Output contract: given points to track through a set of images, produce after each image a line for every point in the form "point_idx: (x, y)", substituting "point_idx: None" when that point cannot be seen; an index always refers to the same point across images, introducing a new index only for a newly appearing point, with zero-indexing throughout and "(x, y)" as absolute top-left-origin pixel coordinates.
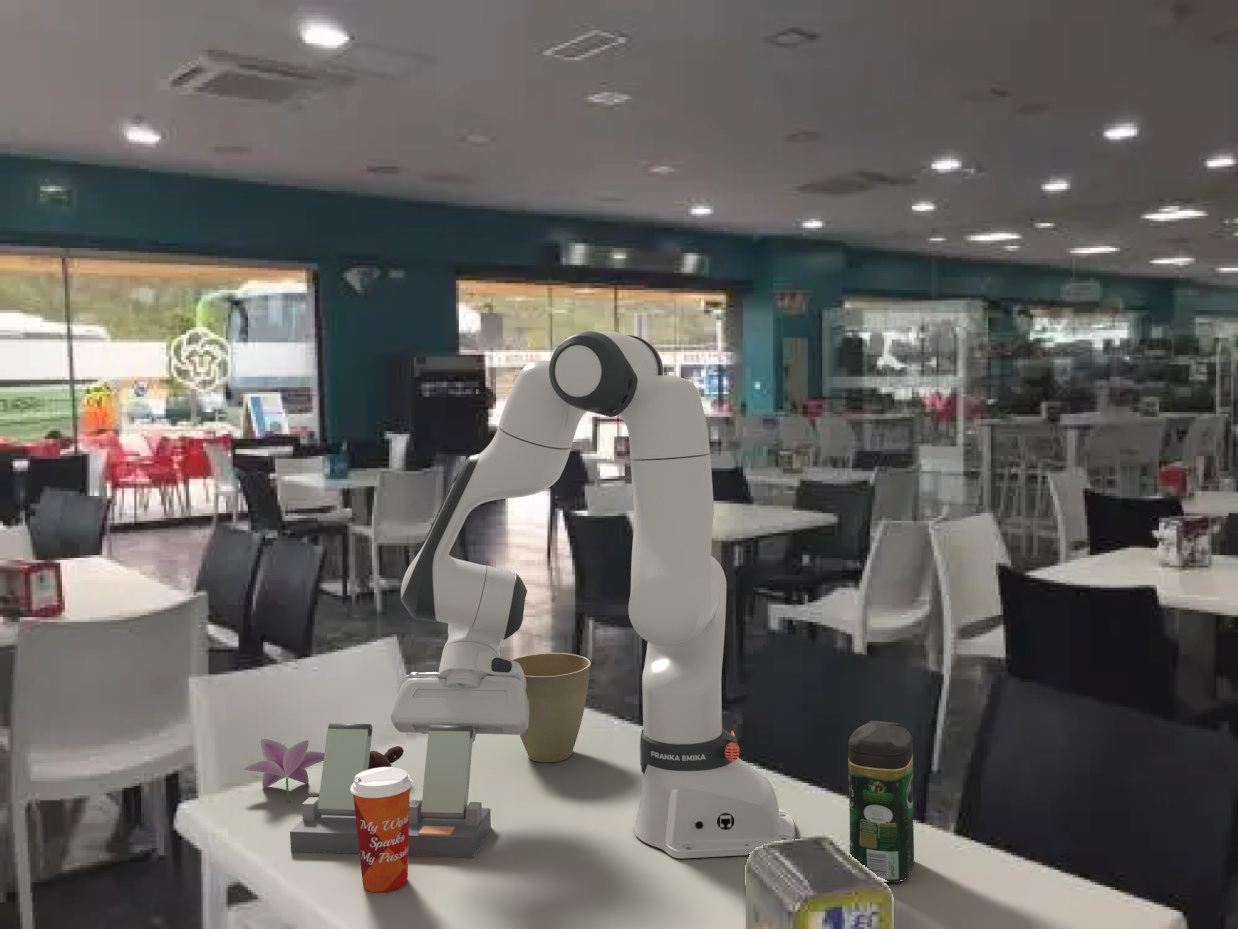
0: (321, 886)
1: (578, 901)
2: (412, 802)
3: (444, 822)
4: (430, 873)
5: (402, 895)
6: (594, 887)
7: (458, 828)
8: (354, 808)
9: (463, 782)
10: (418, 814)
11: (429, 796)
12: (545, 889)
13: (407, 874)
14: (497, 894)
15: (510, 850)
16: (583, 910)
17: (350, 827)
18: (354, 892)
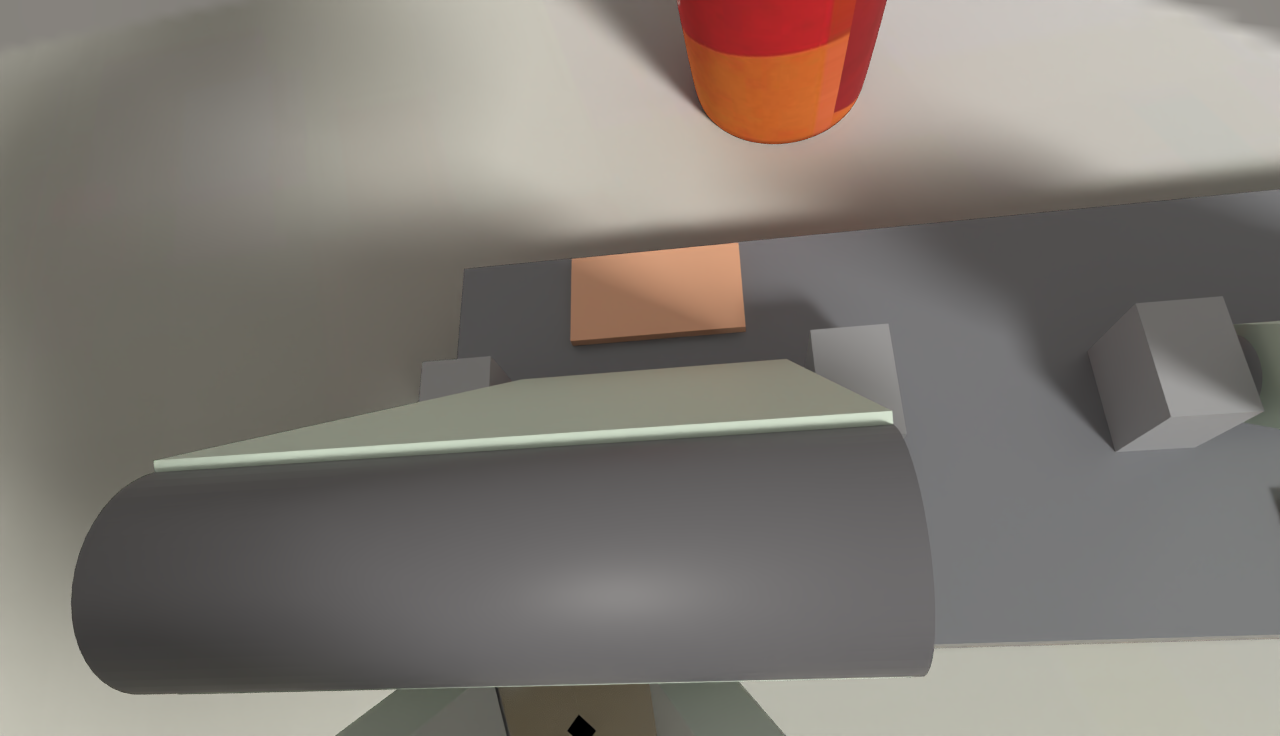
0: (1016, 12)
1: (115, 105)
2: (874, 394)
3: None
4: (632, 171)
5: (676, 24)
6: (56, 189)
7: (555, 353)
8: (1272, 321)
9: (473, 392)
10: None
11: (740, 366)
12: (209, 149)
13: (693, 80)
14: (360, 92)
15: (348, 410)
16: (107, 66)
17: (1181, 269)
18: None
